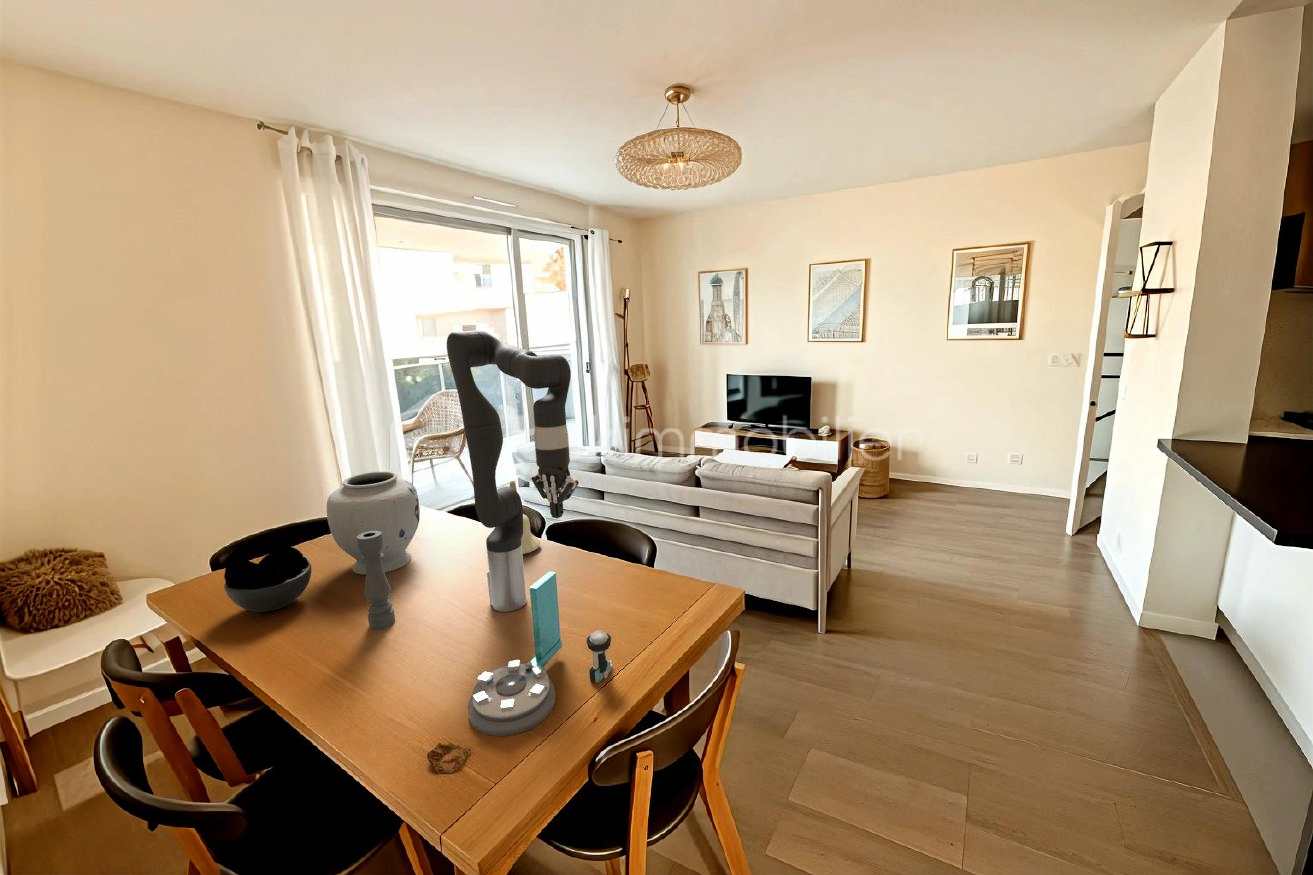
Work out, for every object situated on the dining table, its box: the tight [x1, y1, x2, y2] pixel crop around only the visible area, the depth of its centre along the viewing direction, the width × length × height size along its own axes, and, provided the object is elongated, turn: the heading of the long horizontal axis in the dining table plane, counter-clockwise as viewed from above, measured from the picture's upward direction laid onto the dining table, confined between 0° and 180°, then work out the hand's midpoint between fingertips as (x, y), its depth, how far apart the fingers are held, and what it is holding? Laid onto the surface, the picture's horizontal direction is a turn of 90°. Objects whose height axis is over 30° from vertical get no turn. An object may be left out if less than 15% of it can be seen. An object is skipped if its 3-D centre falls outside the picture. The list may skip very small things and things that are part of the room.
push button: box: [586, 630, 613, 684], centre depth 118 cm, size 7×5×10 cm
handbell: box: [509, 480, 541, 555], centre depth 185 cm, size 15×15×25 cm
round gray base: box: [467, 678, 556, 737], centre depth 110 cm, size 17×17×2 cm
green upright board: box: [471, 571, 563, 722], centre depth 112 cm, size 26×15×19 cm, turn 159°
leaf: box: [426, 741, 471, 775], centre depth 96 cm, size 6×7×2 cm
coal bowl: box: [223, 538, 312, 613], centre depth 151 cm, size 20×20×19 cm
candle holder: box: [357, 531, 396, 631], centre depth 140 cm, size 6×6×25 cm
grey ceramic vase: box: [326, 471, 421, 576], centre depth 176 cm, size 27×27×30 cm
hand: (557, 516), depth 125 cm, fingers closed
